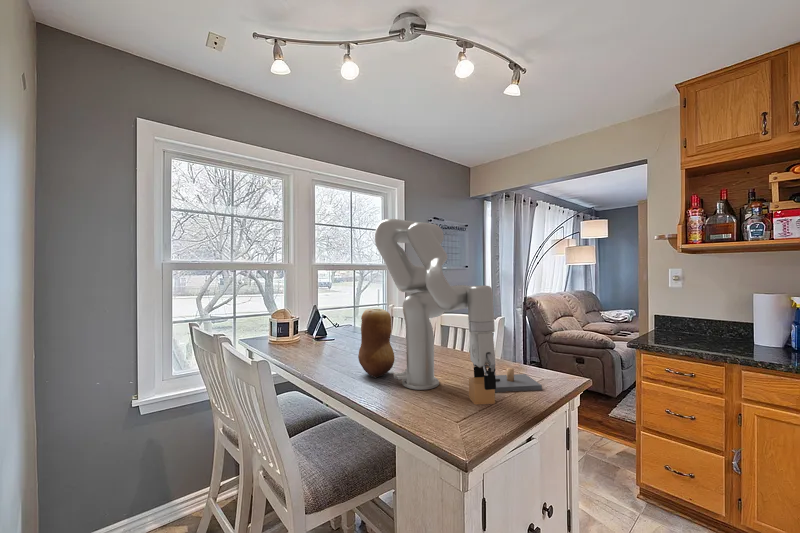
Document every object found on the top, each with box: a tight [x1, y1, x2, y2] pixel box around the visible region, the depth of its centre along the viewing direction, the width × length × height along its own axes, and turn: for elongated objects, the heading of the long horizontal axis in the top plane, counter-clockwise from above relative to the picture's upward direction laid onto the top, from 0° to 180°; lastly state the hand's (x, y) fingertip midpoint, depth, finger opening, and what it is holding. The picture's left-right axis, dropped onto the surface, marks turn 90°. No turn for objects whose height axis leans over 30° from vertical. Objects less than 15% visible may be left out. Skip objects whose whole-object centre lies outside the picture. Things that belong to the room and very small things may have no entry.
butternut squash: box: [358, 308, 395, 378], centre depth 132 cm, size 14×13×25 cm
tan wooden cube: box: [468, 376, 496, 406], centre depth 106 cm, size 6×6×6 cm
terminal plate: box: [495, 367, 543, 393], centre depth 119 cm, size 16×12×6 cm
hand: (484, 384), depth 105 cm, fingers open, 9 cm apart
